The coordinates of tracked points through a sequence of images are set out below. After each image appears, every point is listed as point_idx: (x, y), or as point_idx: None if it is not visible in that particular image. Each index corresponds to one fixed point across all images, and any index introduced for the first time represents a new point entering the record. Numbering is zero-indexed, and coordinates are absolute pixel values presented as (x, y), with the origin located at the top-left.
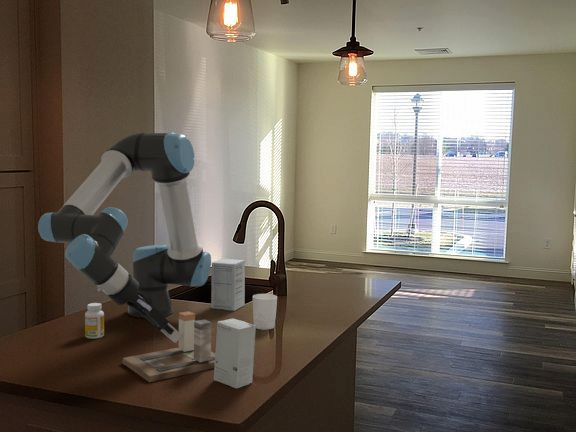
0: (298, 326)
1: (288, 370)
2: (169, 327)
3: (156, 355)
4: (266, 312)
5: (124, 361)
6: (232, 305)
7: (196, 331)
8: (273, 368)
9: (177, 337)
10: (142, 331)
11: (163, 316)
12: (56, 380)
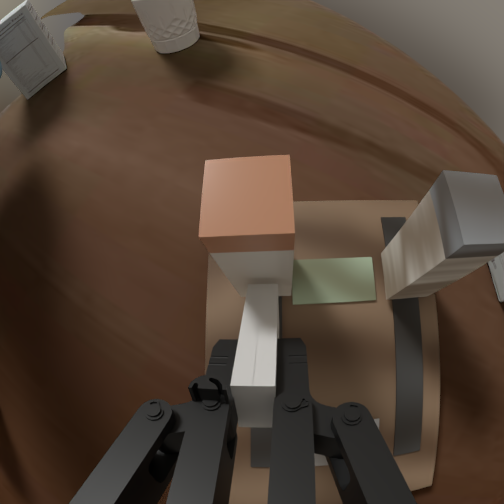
0: (220, 10)
1: (473, 124)
2: (307, 375)
3: None
4: (188, 10)
5: None
6: (58, 64)
7: (458, 263)
8: (458, 136)
9: (278, 312)
10: (6, 279)
11: (400, 474)
12: None
